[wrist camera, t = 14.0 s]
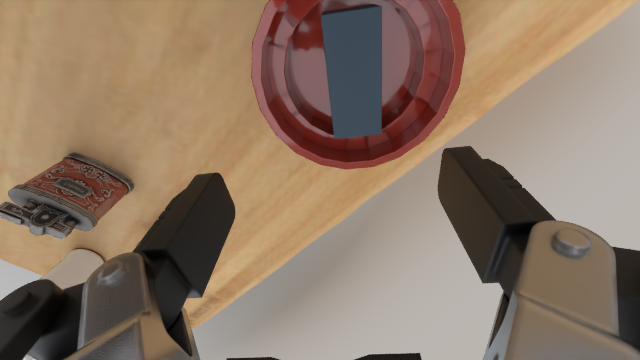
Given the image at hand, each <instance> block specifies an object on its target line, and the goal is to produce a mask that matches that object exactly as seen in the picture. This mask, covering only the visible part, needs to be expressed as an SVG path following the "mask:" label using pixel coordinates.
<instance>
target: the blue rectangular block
mask: <svg viewBox="0 0 640 360" xmlns="http://www.w3.org/2000/svg"><path fill="white" fill-rule="evenodd" d="M321 24H322V33H323V42H324V51H325V60H326V69H327V78H328V87H329V96H330V105H331V114H332V123H333V132H334V139H339V138H349V137H359V136H369V135H379V134H382V6H380V5H375V4H371V5H364V6H358V7H352V8H345V9H339V10H332V11H326V12H323V13H322V14H321Z"/></svg>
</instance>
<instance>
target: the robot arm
mask: <svg viewBox="0 0 640 360" xmlns="http://www.w3.org/2000/svg"><path fill="white" fill-rule="evenodd" d="M438 195H439V199H440V202H441V204H442V206H443V208H444V210H445V212H446V214H447V216H448V218H449V219H450V221H451V223H452V225H453V227H454V229H455V231H456V233H457V234H458V237H459V239H460V241H461V242H462V244H463V246H464V248H465V250H466V252H467V254H468V256H469V258H470V259H471V262H472V263H473V265H474V267H475V269H476V271H477V273H478V275H479V277H480V279H481V281H482V283H500V285H501V287H502V289H503V290H504V291H503V294H502V296H501V299H500V302H499V306H498V309H497V313H496V317H495V320H494V324H493V327H492V330H491V334H490V337H489V341H488V344H487V348H486V351H485V354H484V358H483V360H640V251H637V250H630V249H624V248H617V247H611V246H610V245H609V244H608V243H607V242H606V241H605V240H604V239H603V238H601V237H600V236H599V235H597V234H596V233H594V232H592V231H590V230H588V229H586V228H584V227H581V226H579V225H576V224H573V223H569V222H564V221H556V220H555V219H554V217H553V216H552V215H550V213H548V211H547V210H546V209H545V208H544V207H543V206H542V205H541V204H540V203H539V202H538V201H537V200H536V199H535V198H534V197H533V196H532V195H531V194H530V193H529V192H528V191H527V190H526V189H525V188H522V185H521V184H520V183H519V182H518V181H517V180H516V179H514V178H513V176H512V175H511V174H510V173H509V172H508V171H507V170H506V169H505V168H504V167H503V166H501V165H499V164H497V163H495V162H493V161H491V160H489V159H482V158H481V157H480V156H479V155H478V154H477V153H476V151H475V150H474V149H473V148H472V147H471V146H464V147H454V148H446V149H444V151H443V154H442V160H441V167H440V174H439V181H438ZM234 219H235V206H234V203H233V201H232V198H231V196H230V194H229V191H228V189H227V187H226V185H225V182H224V180H223V178H222V176H221V175H220V174H219V173H208V174H199V175H196V176H195V177H194V178H193V180H192V181H191V183H190V184H189V185H188V187H187V188H186V189H184V190H183V191H182V192H181V193H179V194H178V195H177V196H176V197H174V198H173V199H172V200H171V202H170V203H169V204H168V206H167V207H166V208H165V211H163V212H162V214H161V215H160V216H159V220H156V222H155V223H154V224H153V226H152V227H151V228H150V230H149V231H148V232H147V234H146V235H145V236H144V237H143V239H142V240H141V241H140V243H139V244H138V245H137V247H136V248H135V249H134V251H133V252H130V253H124V254H121V255H118V256H116V257H114V258H112V259H110V260H108V261H107V262H105V263H103V264H102V265H101V266H99V267H98V268H97V269H96V270H95V271H94V272H93V273H92V274H91V275H90V276H89V278H88V279H87V281H86V282H84V283H81V284H78V285H75V286H72V287H69V288H66V289H63V290H62V289H61V288H60V287H59V286H57V285H56V284H55V283H54V282H52V281H51V280H49V279H41V280H37V281H33V282H31V283H28V284H26V285H24V286H22V287H20V288H18V289H17V290H15V291H13V292H12V293H10V294H9V295H8V296H6V297H5V298H3V299H2V300H1V301H0V360H23V358H24V357H25V356H26V355H29V356H31V357H33V358H34V359H36V360H200V358H199V354H198V350H197V347H196V343H195V340H194V336H193V333H192V329H191V326H190V322H189V318H188V315H187V312H186V309H185V308H184V307H183V305H184V303H185V301H186V298H199V297H202V296H203V293H204V291H205V289H206V286H207V284H208V282H209V279H210V277H211V274H212V272H213V270H214V267H215V265H216V262H217V260H218V258H219V255H220V253H221V250H222V248H223V246H224V243H225V241H226V238H227V236H228V234H229V231H230V229H231V227H232V224H233V222H234ZM227 360H279V359H276V358H272V357H265V358H264V357H262V358H227ZM355 360H421V356H420V353H412V354H411V353H409V354H375V355H374V354H372V355H367V356H364V357H361V358H358V359H355Z"/></svg>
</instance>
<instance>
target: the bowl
mask: <svg viewBox="0 0 640 360" xmlns="http://www.w3.org/2000/svg"><path fill="white" fill-rule="evenodd" d="M371 4H375V5H380V6H382V134H379V135H369V136H359V137H349V138H339V139H334V132H333V123H332V114H331V105H330V96H329V87H328V78H327V69H326V60H325V51H324V42H323V33H322V24H321V14H322V13H323V12H326V11H332V10H339V9H345V8H352V7H358V6H364V5H371ZM464 55H465V43H464V37H463V31H462V24H461V18H460V13H459V10H458V8H457V7H456V5H455V3H454V1H453V0H269V2H268V3H267V4H266V6H265V8H264V11H263V14H262V16H261V19H260V22H259V25H258V28H257V31H256V34H255V36H254V39H253V43H252V71H251V78H252V82H253V86H254V89H255V93H256V97H257V101H258V104H259V108H260V110H261V112H262V113H263V115H264V117H265V118H266V120H267V122H268V123H269V125H270V126H271V128H272V130H273V131H274V133H275V134H276V136H278V137H279V138H280V139H281V140H282V141H283V142H284V143H285V144H286V145H288V146H289V147H290V148H291V149H292V150H293V151H294V152H295V153H297V154H299V155H301V156H303V157H305V158H307V159H309V160H311V161H314V162H316V163H318V164H320V165H325V166H330V167H336V168H341V169H355V168H366V167H374V166H377V165H380V164H383V163H385V162H388V161H391V160H394V159H396V158H399V157H401V156H402V155H404V154H405V153H407V152H408V151H409V150H411V149H412V148H414V147H415V146H417V145H418V144H420V143H421V142H423V140H425V139H426V138H427V137H428V135H429V134H430V133H431V132H432V131H433V130H434V128H435V127H436V126H437V125H438V124H439V123H440V121H441V120H442V119H443V118H444V116H445V115H446V113H447V111H448V108H449V106H450V104H451V102H452V100H453V98H454V96H455V94H456V92H457V90H458V88H459V85H460V79H461V73H462V67H463V61H464Z"/></svg>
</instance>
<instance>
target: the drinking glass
mask: <svg viewBox="0 0 640 360" xmlns="http://www.w3.org/2000/svg"><path fill="white" fill-rule="evenodd" d="M103 263H104V261H103V259H102V258H101V257H100V256H99V255H98V254H96V253H94V252H92V251H89V250H86V249H76V250H73V251H71V252H70V253H69V254H68V255H67V256H66V257H65V258H64V259H63V260H62V261H60V262H59V263H58V264H57V265H56V266H54V267H53V268H52V269H51V270H50V271H49V272H47V273H46V274H45V275H44V276H43V277H41V278H40V279H39V280H41V279H49V280H51V281H52V282H54V283H55V284H56V285H57V286H59V287H60V288H61V289H62V290H63V289H66V288H69V287H72V286H75V285H78V284H81V283H84V282H86V281H87V279H88V278H89V276H90V275H91V274H92V273H93V272H94V271H95V270H96V269H97V268H98V267H99V266H101V265H102V264H103ZM32 359H33V357H31V356H29V355H26V356H25V357H24V358H23V360H32Z"/></svg>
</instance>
